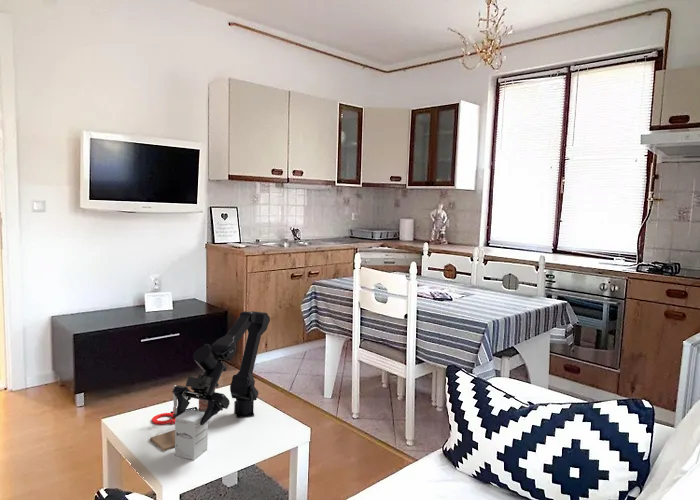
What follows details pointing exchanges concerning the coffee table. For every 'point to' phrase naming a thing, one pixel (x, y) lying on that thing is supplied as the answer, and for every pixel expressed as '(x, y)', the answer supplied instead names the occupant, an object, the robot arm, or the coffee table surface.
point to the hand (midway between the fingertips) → (189, 422)
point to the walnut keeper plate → (164, 440)
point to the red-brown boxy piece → (204, 405)
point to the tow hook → (167, 414)
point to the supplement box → (190, 434)
